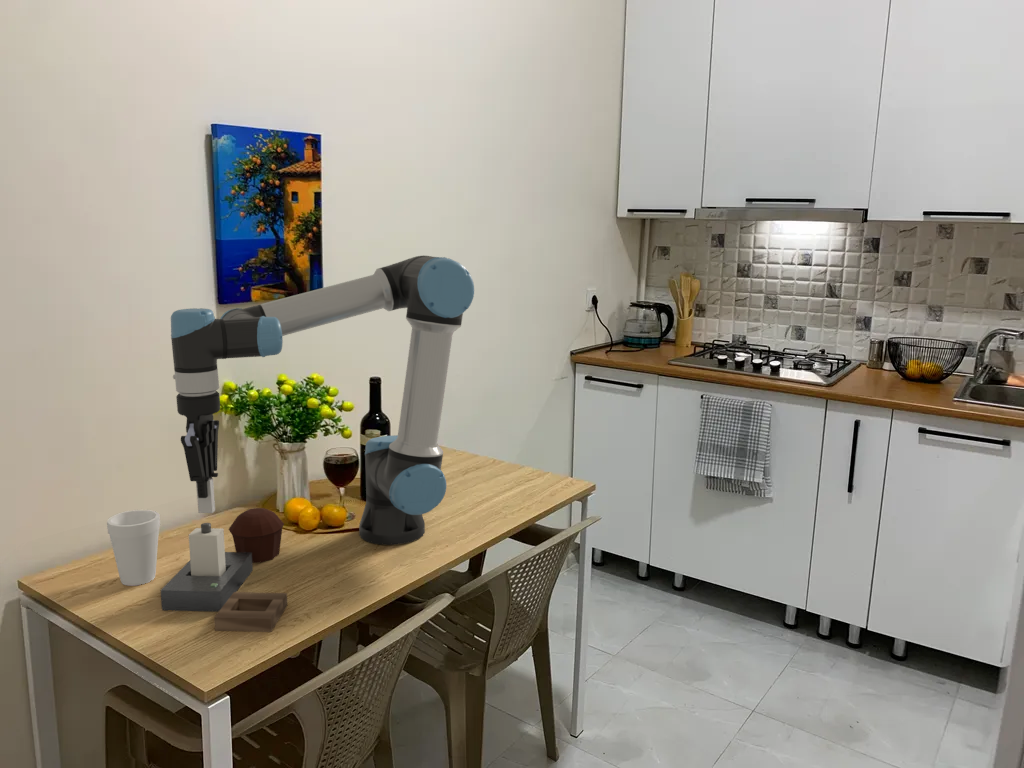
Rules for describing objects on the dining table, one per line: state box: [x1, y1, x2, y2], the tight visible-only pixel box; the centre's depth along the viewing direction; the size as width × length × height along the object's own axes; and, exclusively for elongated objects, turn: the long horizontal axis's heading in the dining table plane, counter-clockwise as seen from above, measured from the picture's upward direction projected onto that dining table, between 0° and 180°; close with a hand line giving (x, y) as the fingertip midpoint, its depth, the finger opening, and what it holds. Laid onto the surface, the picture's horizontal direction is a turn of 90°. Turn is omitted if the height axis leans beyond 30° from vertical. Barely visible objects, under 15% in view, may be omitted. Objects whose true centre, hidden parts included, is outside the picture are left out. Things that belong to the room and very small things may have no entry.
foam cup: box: [106, 509, 161, 587], centre depth 162 cm, size 10×9×13 cm
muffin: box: [228, 507, 285, 564], centre depth 175 cm, size 12×11×10 cm
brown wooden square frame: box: [213, 591, 288, 633], centre depth 148 cm, size 10×10×2 cm
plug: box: [188, 522, 226, 576], centre depth 158 cm, size 4×5×14 cm, turn 89°
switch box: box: [160, 551, 254, 613], centre depth 159 cm, size 18×11×4 cm, turn 179°
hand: (206, 511), depth 156 cm, fingers closed
